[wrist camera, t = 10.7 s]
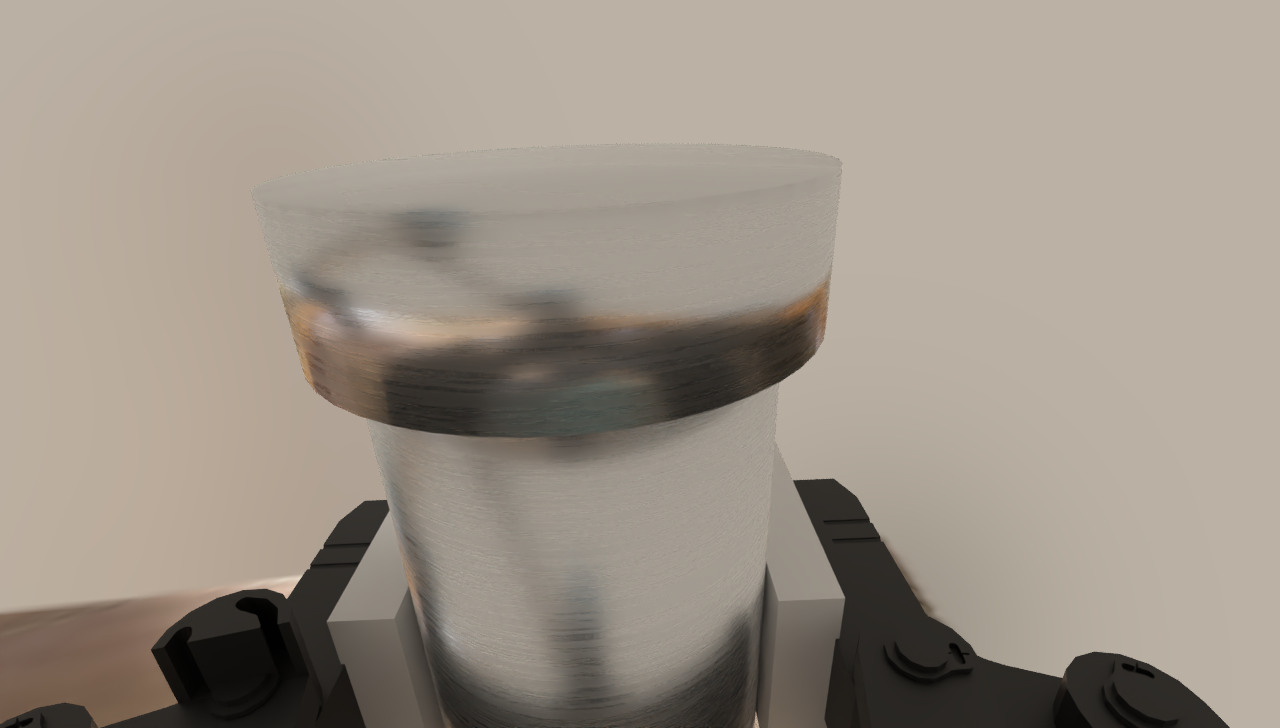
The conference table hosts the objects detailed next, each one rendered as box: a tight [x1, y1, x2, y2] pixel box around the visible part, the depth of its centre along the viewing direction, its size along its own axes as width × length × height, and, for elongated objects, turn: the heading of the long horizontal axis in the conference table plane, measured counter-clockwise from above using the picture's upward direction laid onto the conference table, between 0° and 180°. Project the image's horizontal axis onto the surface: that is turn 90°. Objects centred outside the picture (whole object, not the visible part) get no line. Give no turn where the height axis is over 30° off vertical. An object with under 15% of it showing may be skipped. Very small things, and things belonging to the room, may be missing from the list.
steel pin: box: [251, 144, 843, 728], centre depth 9 cm, size 5×5×15 cm
